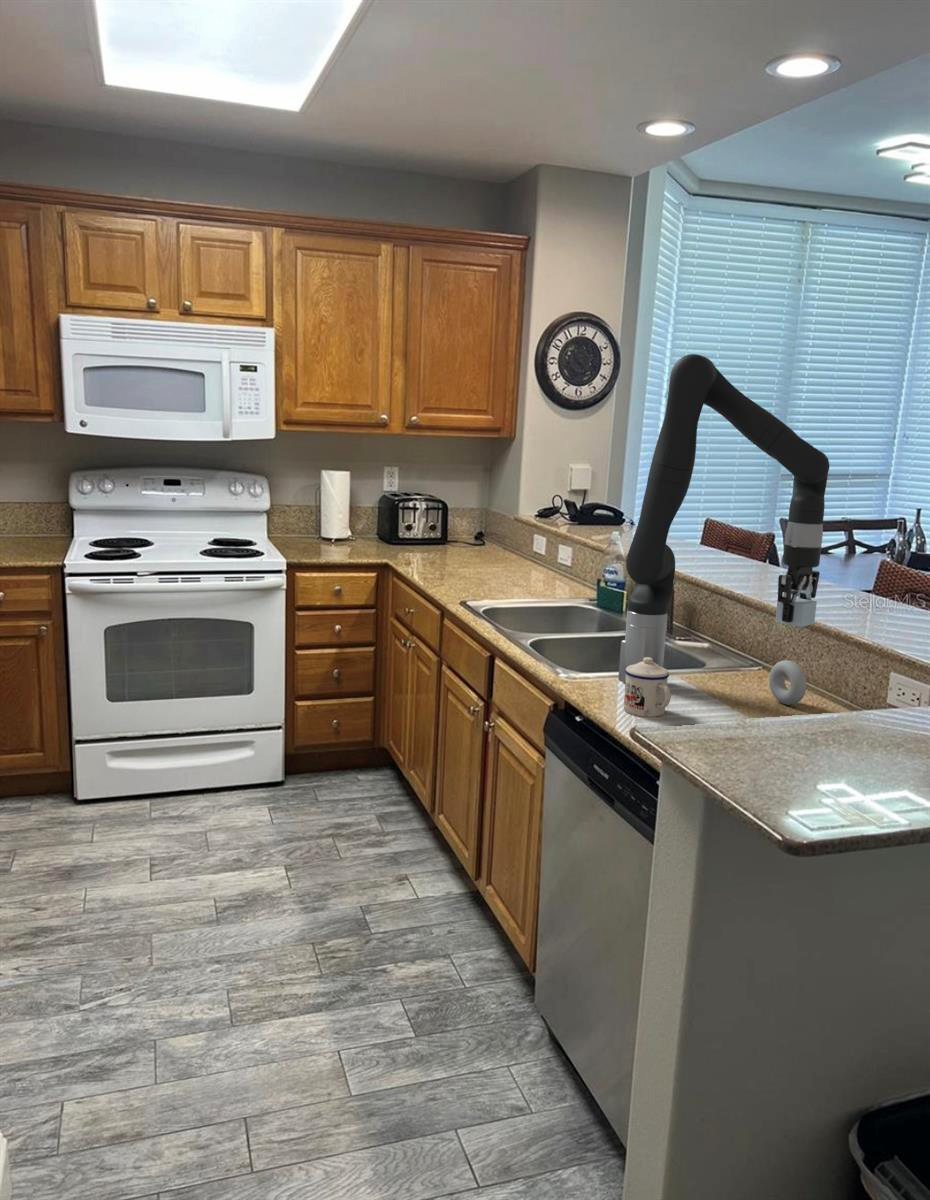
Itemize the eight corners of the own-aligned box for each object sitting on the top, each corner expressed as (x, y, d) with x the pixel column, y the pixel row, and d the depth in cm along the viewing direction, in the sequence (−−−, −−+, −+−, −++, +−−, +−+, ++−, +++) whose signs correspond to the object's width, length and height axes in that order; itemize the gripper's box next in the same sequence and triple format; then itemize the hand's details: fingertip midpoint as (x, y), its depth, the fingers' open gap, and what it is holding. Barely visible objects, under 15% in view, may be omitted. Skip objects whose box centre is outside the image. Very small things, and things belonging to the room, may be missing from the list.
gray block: (775, 621, 201) (777, 599, 200) (788, 618, 205) (791, 596, 204) (800, 627, 196) (803, 604, 195) (814, 623, 200) (816, 601, 199)
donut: (763, 698, 208) (768, 655, 206) (775, 697, 209) (780, 654, 207) (795, 711, 199) (800, 667, 197) (807, 710, 200) (812, 666, 199)
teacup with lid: (613, 707, 197) (617, 654, 194) (646, 702, 201) (651, 651, 199) (649, 724, 186) (654, 669, 184) (684, 719, 191) (689, 665, 188)
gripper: (802, 539, 205) (794, 613, 208) (769, 543, 195) (761, 620, 198) (835, 543, 199) (826, 619, 203) (803, 547, 190) (794, 627, 193)
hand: (794, 619), depth 200 cm, fingers closed on gray block, 6 cm apart
